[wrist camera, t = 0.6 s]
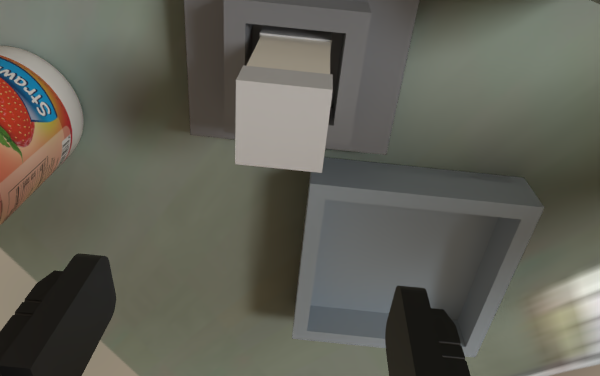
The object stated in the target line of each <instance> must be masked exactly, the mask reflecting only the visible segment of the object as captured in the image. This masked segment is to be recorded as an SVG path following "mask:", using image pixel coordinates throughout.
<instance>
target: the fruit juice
mask: <svg viewBox="0 0 600 376" xmlns="http://www.w3.org/2000/svg"><path fill="white" fill-rule="evenodd" d="M83 125H84V119H83V111H82V107H81V104H80V101H79V99H78V97H77V95H76V93H75V91H74V89H73V88H72V86H71V85H70V83H69V82H68V81H67V79H66V78H65V77H64V76H63V75H62V74H61V73H60V72H59V71H58V70H57V69H56V68H55V67H53V66H52V65H51V64H50V63H48V62H47V61H45V60H44V59H42V58H41V57H39V56H37V55H35V54H33V53H31V52H28V51H26V50H23V49H20V48H16V47H11V46H0V225H1V224H2V223H3V222H4V221H5V220H6V219H7V218H8V217H9V216H10V215H11V214H12V213H13V212H14V211H15V210H16V209H17V208H18V207H19V206H20V205H21V204H22V203H23V202H24V201H25V200H26V199H27V198H28V197H29V196H30V195H31V194H32V193H33V192H34V191H35V190H36V189H37V188H38V187H39V186H40V185H41V184H42V183H43V182H44V181H45V180H46V179H47V178H48V177H49V176H50V175H51V174H52V173H53V172H54V171H55V170H56V169H57V168H58V167H59V166H60V165H61V164H62V163H63V162H64V161H65V160H66V159H67V158H68V157H69V156H70V155H71V154H72V152H73V151H74V150H75V148H76V147H77V145H78V143H79V141H80V139H81V136H82V132H83Z"/></svg>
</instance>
